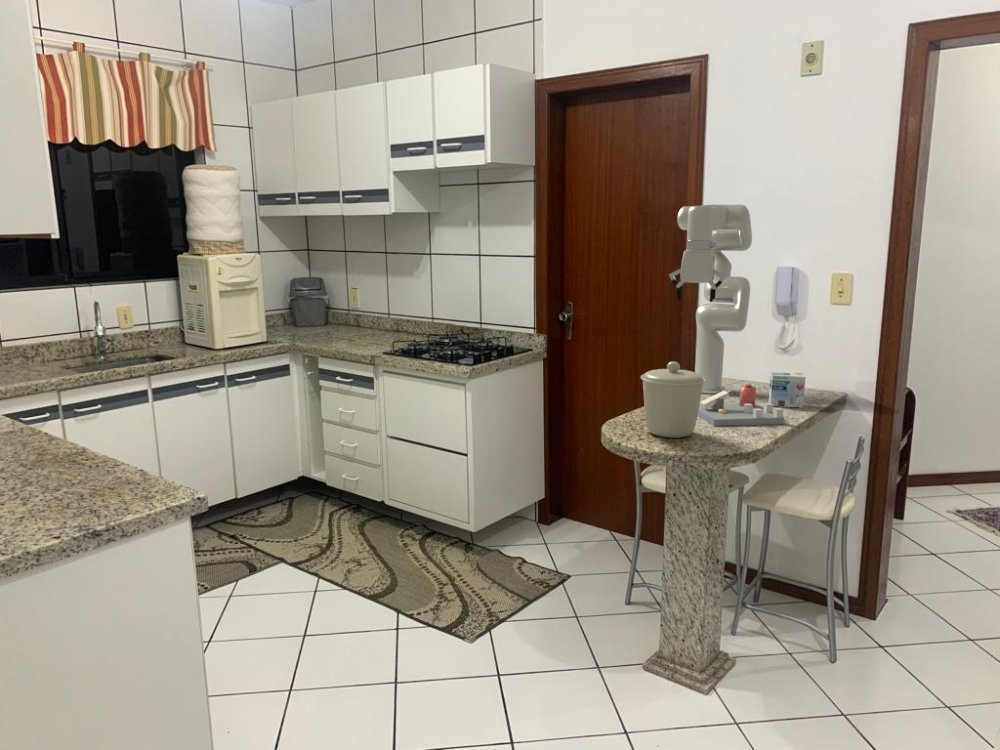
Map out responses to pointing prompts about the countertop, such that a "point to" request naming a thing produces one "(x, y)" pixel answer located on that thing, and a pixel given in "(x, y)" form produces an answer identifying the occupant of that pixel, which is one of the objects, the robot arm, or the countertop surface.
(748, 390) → the cap
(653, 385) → the canister
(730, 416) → the panel
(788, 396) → the light bulb box
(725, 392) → the lever
